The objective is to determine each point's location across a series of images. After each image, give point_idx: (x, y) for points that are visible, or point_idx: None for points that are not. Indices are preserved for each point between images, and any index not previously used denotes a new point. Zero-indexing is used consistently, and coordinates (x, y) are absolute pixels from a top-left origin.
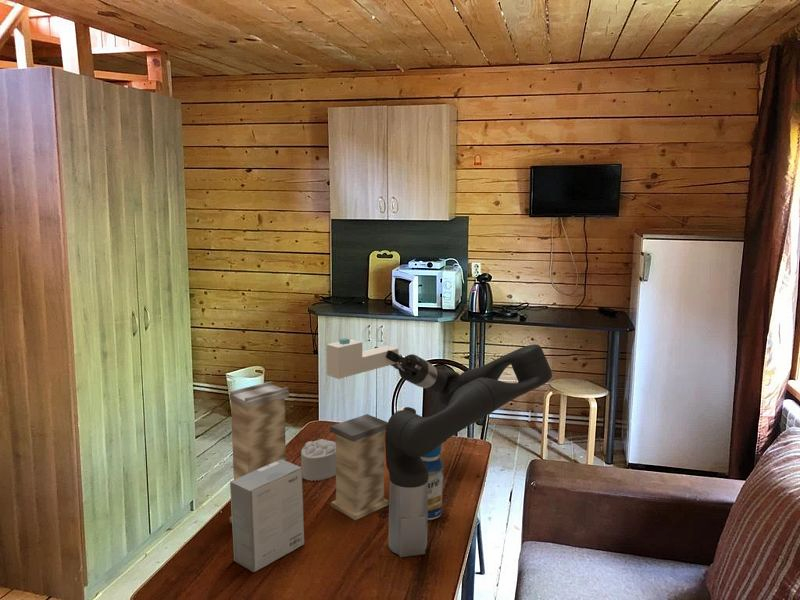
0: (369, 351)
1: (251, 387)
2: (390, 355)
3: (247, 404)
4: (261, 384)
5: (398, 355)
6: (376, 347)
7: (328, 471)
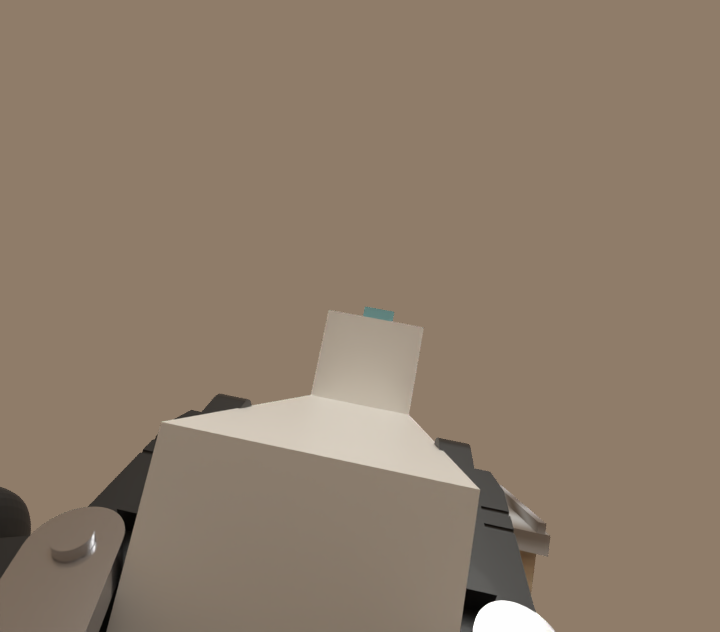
0: (376, 418)
1: (512, 500)
2: None
3: None
4: (524, 509)
5: (113, 526)
6: (436, 439)
7: None
